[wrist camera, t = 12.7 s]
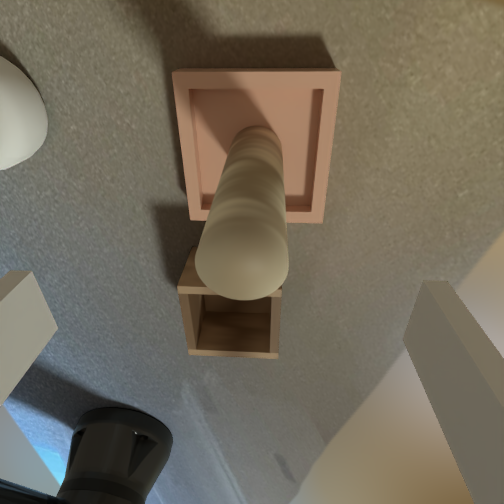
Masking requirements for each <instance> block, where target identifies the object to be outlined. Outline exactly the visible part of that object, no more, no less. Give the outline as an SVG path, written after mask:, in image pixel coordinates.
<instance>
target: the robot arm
mask: <svg viewBox="0 0 504 504" xmlns="http://www.w3.org/2000/svg"><path fill="white" fill-rule="evenodd" d="M57 329H58V327H57V325H56V322H55V320H54V318H53V316H52V314H51V312H50V309H49V307H48V305H47V303H46V301H45V298H44V296H43V294H42V292H41V290H40V288H39V285H38V283H37V281H36V279H35V277H34V274H33V272H32V271H11V270H10V271H9V272H8V273H7V274H6V275H5V276H4V277H2V278H1V279H0V407H1V406H2V404H3V403H4V401H5V400H6V399H7V397H8V396H9V395H10V393H11V392H12V391H13V389H14V388H15V386H16V385H17V384H18V382H19V381H20V380H21V378H22V377H23V376H24V374H25V373H26V371H27V370H28V369H29V367H30V366H31V365H32V363H33V362H34V361H35V359H36V358H37V357H38V355H39V354H40V352H41V351H42V350H43V348H44V347H45V346H46V344H47V343H48V342H49V340H50V339H51V337H52V336H53V335H54V333H55V332H56V331H57ZM403 341H404V344H405V346H406V348H407V350H408V352H409V355H410V357H411V360H412V362H413V364H414V366H415V369H416V371H417V373H418V376H419V378H420V380H421V382H422V385H423V387H424V389H425V392H426V394H427V396H428V399H429V401H430V403H431V405H432V408H433V410H434V412H435V414H436V417H437V419H438V421H439V424H440V426H441V428H442V431H443V433H444V435H445V437H446V440H447V442H448V444H449V447H450V449H451V451H452V454H453V456H454V458H455V460H456V462H457V465H458V467H459V470H460V472H461V474H462V476H463V479H464V481H465V483H466V486H467V488H468V490H469V492H470V495H471V497H472V499H473V501H474V504H504V358H503V357H502V356H501V354H500V353H499V351H498V350H497V349H496V347H495V346H494V345H493V343H492V342H491V340H490V339H489V338H488V336H487V335H486V334H485V332H484V331H483V329H482V328H481V327H480V325H479V324H478V323H477V321H476V320H475V318H474V317H473V316H472V314H471V313H470V312H469V310H468V309H467V307H466V306H465V305H464V303H463V302H462V301H461V299H460V298H459V296H458V295H457V294H456V292H455V291H454V289H453V288H452V287H451V285H450V284H449V283H448V281H428V280H423V282H422V285H421V288H420V291H419V294H418V297H417V300H416V302H415V305H414V308H413V311H412V314H411V317H410V320H409V323H408V325H407V328H406V331H405V334H404V337H403ZM172 444H173V437H172V435H171V433H170V431H169V430H168V429H167V428H166V427H165V426H164V425H163V424H161V423H160V422H159V421H157V420H155V419H154V418H152V417H150V416H147V415H145V414H142V413H139V412H136V411H132V410H127V409H121V408H101V409H95V410H92V411H89V412H87V413H86V414H84V415H83V416H82V417H81V418H80V420H79V422H78V424H77V426H76V428H75V430H74V432H73V435H72V440H71V446H70V451H69V457H68V463H67V468H66V474H65V478H64V481H63V483H62V485H61V487H60V490H59V492H58V494H57V496H56V497H54V496H51V495H48V494H45V493H42V492H39V491H36V490H33V489H30V488H27V487H24V486H21V485H18V484H15V483H12V482H9V481H6V480H3V479H0V504H145V501H146V498H147V495H148V494H149V492H150V490H151V488H152V487H153V485H154V483H155V482H156V480H157V478H158V476H159V475H160V473H161V471H162V469H163V468H164V466H165V464H166V463H167V461H168V458H169V456H170V452H171V448H172Z"/></svg>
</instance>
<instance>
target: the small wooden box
mask: <svg viewBox="0 0 504 504" xmlns="http://www.w3.org/2000/svg"><path fill="white" fill-rule="evenodd" d="M197 248H198V247H192V249H191V251H190V254H189V257H188V259H187V262H186V264H185V267H184V269H183V272H182V275H181V277H180V280H179V282H178V285H177V289H178V295H179V301H180V306H181V312H182V318H183V324H184V329H185V335H186V341H187V347H188V352H189V355H204V356H226V357H248V358H270V359H278V350H279V332H280V314H281V296H282V285H281V286H280V287H279V288H278V289H277V290H276V291H274V292H273V293H271V294H269V295H267V296H265V297H262V298H259V299H254V300H235V299H230V298H227V297H224V296H221V295H219V294H217V293H215V292H214V291H212V290H211V289H209V288H208V287H207V286H206V285H205V284H204V283H203V282H202V280H201V279H200V277H199V275H198V273H197V271H196V267H195V255H196V251H197Z"/></svg>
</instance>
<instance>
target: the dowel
mask: <svg viewBox="0 0 504 504" xmlns="http://www.w3.org/2000/svg"><path fill="white" fill-rule="evenodd" d="M195 267H196V271H197V273H198V275H199V277H200V279H201V280H202V282H203V283H204V284H205V285H206V286H207V287H208V288H209V289H211V290H212V291H214V292H215V293H217V294H219V295H221V296H224V297H227V298H230V299H235V300H254V299H259V298H262V297H265V296H267V295H269V294H271V293H273V292H274V291H276V290H277V289H278V288H279V287H280V286H281V285H282V284H283V282H284V281H285V279H286V277H287V274H288V269H289V260H288V243H287V225H286V207H285V189H284V172H283V154H282V145H281V142H280V140H279V138H278V137H277V135H276V134H275V133H274V132H273V131H271V130H270V129H268V128H266V127H263V126H249V127H246V128H244V129H242V130H241V131H239V132H238V133H237V134H236V136H235V137H234V139H233V141H232V143H231V146H230V149H229V152H228V156H227V159H226V162H225V165H224V168H223V171H222V174H221V177H220V180H219V183H218V186H217V190H216V193H215V196H214V199H213V202H212V205H211V208H210V211H209V214H208V217H207V220H206V224H205V227H204V230H203V233H202V236H201V239H200V242H199V245H198V248H197V251H196V255H195Z"/></svg>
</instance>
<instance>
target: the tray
mask: <svg viewBox="0 0 504 504" xmlns="http://www.w3.org/2000/svg"><path fill="white" fill-rule="evenodd" d="M341 72H342V71H340V70H339V69H337V68H180V69H178V70H175V71H173V72H172V80H173V87H174V95H175V103H176V111H177V119H178V127H179V135H180V143H181V151H182V158H183V166H184V174H185V182H186V190H187V198H188V206H189V214H190V220H197V221H206V220H207V217H208V214H209V211H210V208H211V205H212V202H213V199H214V196H215V193H216V190H217V186H218V183H219V180H220V177H221V174H222V171H223V168H224V165H225V162H226V159H227V156H228V152H229V149H230V146H231V143H232V141H233V139H234V137H235V136H236V134H237V133H238V132H239V131H241V130H242V129H244V128H246V127H249V126H263V127H266V128H268V129H270V130H271V131H273V132H274V133H275V134H276V135H277V137H278V138H279V140H280V142H281V145H282V154H283V172H284V189H285V207H286V223H323V215H324V207H325V199H326V191H327V183H328V175H329V167H330V159H331V152H332V144H333V136H334V128H335V120H336V112H337V104H338V96H339V88H340V80H341Z"/></svg>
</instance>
